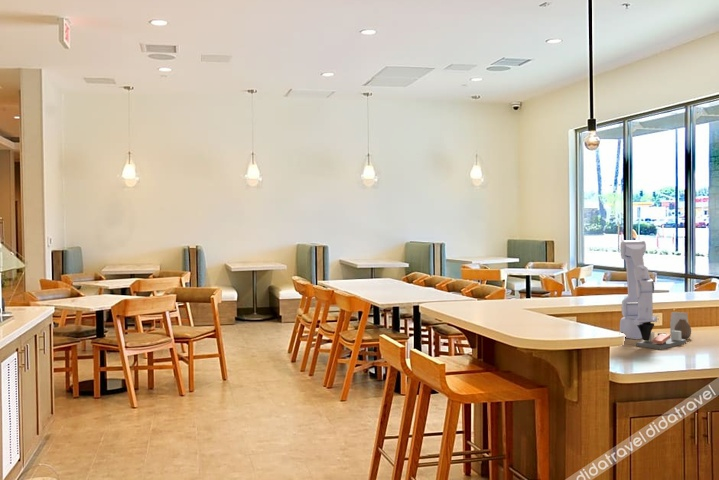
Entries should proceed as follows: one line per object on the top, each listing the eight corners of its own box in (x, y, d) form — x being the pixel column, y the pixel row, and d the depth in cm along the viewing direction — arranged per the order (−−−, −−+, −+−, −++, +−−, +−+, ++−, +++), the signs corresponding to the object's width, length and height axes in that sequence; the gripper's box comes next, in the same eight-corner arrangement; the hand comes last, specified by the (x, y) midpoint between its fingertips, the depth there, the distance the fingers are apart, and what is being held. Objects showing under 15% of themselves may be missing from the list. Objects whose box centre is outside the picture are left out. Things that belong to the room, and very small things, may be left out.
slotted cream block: (644, 340, 300) (644, 331, 300) (647, 340, 302) (647, 331, 302) (651, 341, 298) (651, 332, 298) (654, 341, 299) (654, 331, 299)
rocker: (652, 342, 294) (652, 339, 294) (661, 336, 298) (661, 333, 298) (661, 344, 291) (661, 340, 290) (670, 337, 295) (670, 334, 294)
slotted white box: (671, 339, 301) (671, 330, 301) (674, 339, 302) (674, 330, 302) (678, 340, 298) (678, 331, 298) (681, 339, 300) (681, 330, 300)
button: (656, 337, 308) (656, 333, 308) (660, 336, 310) (660, 332, 310) (663, 338, 305) (663, 334, 305) (668, 337, 307) (668, 333, 307)
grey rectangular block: (685, 335, 320) (685, 313, 320) (670, 334, 324) (670, 312, 324) (688, 334, 323) (688, 312, 322) (673, 332, 327) (672, 311, 327)
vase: (688, 337, 315) (687, 317, 315) (693, 339, 308) (693, 320, 308) (671, 337, 316) (671, 318, 315) (677, 340, 309) (677, 320, 309)
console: (636, 346, 298) (636, 340, 298) (662, 339, 310) (662, 334, 310) (660, 349, 289) (660, 343, 289) (686, 343, 301) (686, 337, 301)
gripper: (644, 310, 290) (644, 343, 290) (663, 307, 299) (664, 339, 299) (628, 309, 296) (629, 341, 296) (648, 305, 304) (648, 337, 305)
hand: (645, 340), depth 298 cm, fingers closed
